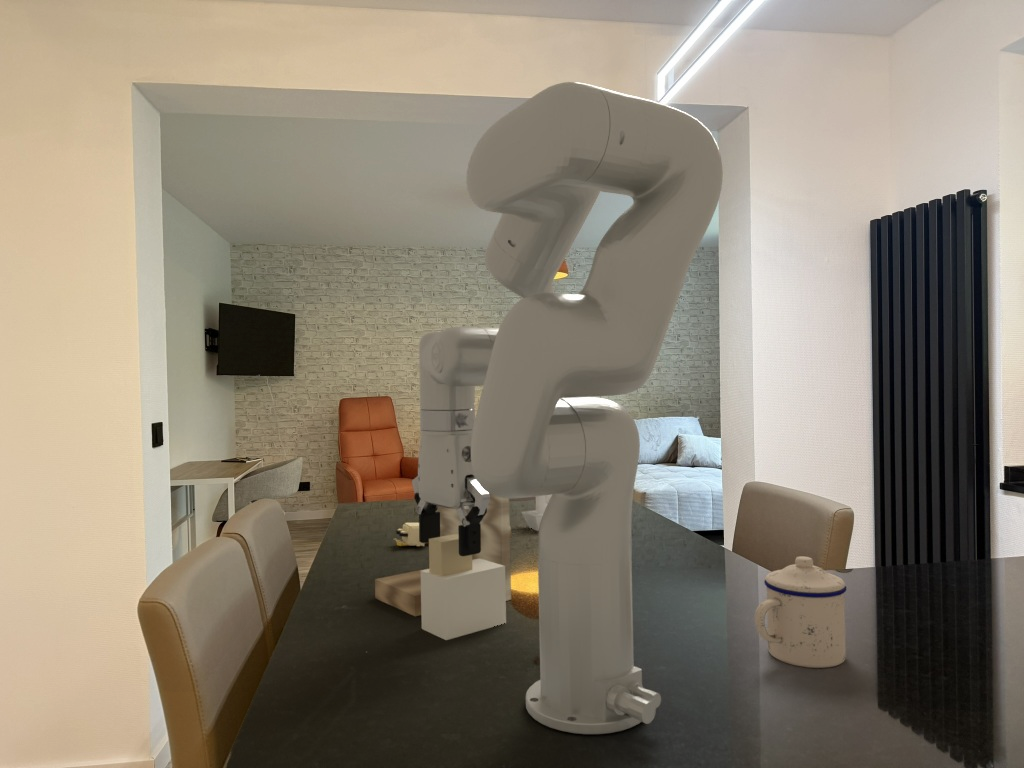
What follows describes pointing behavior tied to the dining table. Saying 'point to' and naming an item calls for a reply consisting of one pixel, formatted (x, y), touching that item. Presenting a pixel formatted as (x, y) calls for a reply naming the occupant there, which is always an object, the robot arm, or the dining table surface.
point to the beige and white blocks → (460, 591)
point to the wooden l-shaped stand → (494, 548)
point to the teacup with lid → (804, 615)
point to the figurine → (536, 512)
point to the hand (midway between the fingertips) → (449, 547)
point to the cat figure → (412, 535)
